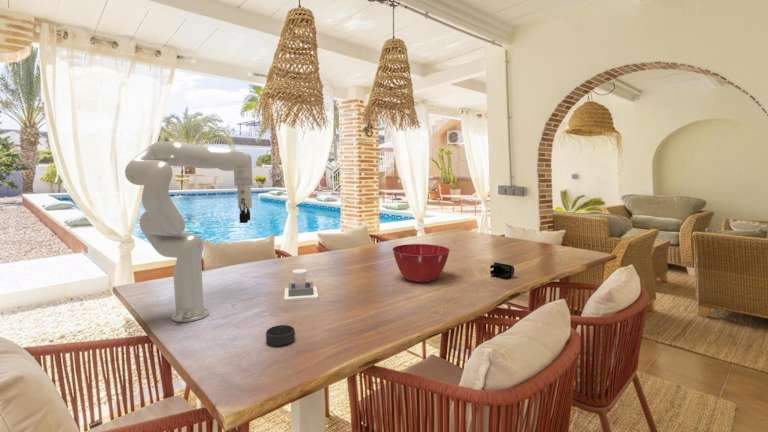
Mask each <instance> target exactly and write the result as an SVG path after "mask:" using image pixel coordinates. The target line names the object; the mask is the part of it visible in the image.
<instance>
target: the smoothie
mask: <svg viewBox="0 0 768 432" xmlns="http://www.w3.org/2000/svg"><path fill="white" fill-rule="evenodd" d="M307 273H308V270H307V269H304V268H302V261H301V260H300V261H299V268H298V269H293V270H292V276H293V281H294V282H293V283H295V288H296V289H297V288H305V284H306V282H307V281H306V280H307Z"/></svg>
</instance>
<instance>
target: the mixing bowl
mask: <svg viewBox="0 0 768 432" xmlns="http://www.w3.org/2000/svg"><path fill="white" fill-rule="evenodd" d="M392 252H393V257H394V259H395V262H396V266H397V268H398V269H399V272H400V274H401V275H402V276H403V278H405V279H407V280H408V281H410V282H414V283H421V284H422V283H430V282H433V281H434V280H436V279H438V278H439V277H440V275H441V274H442V272H443V270H444V268H445V265H446V264H447V260H448V257H449V253H450V252H451V249H450V248H448V247H446V246H443V245H437V244H430V243H429V244H428V243H427V244H426V243H408V244H400V245H396V246H394V247H393V248H392Z"/></svg>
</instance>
